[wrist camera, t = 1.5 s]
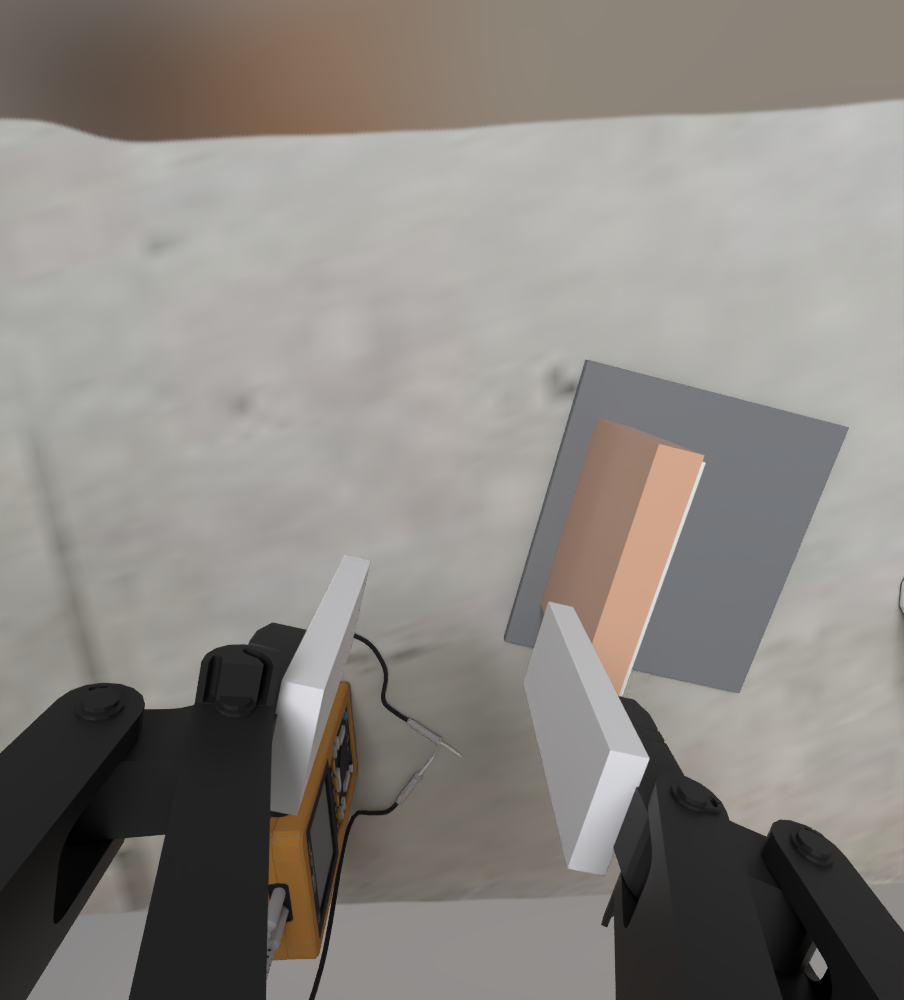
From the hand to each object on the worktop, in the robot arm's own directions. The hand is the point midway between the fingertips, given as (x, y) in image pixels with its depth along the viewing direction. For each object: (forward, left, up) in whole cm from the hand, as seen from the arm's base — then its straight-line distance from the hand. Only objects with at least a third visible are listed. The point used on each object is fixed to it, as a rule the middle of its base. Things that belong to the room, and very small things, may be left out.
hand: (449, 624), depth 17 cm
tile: (+9, 0, -18) cm, 20 cm away
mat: (+14, 0, -19) cm, 23 cm away
